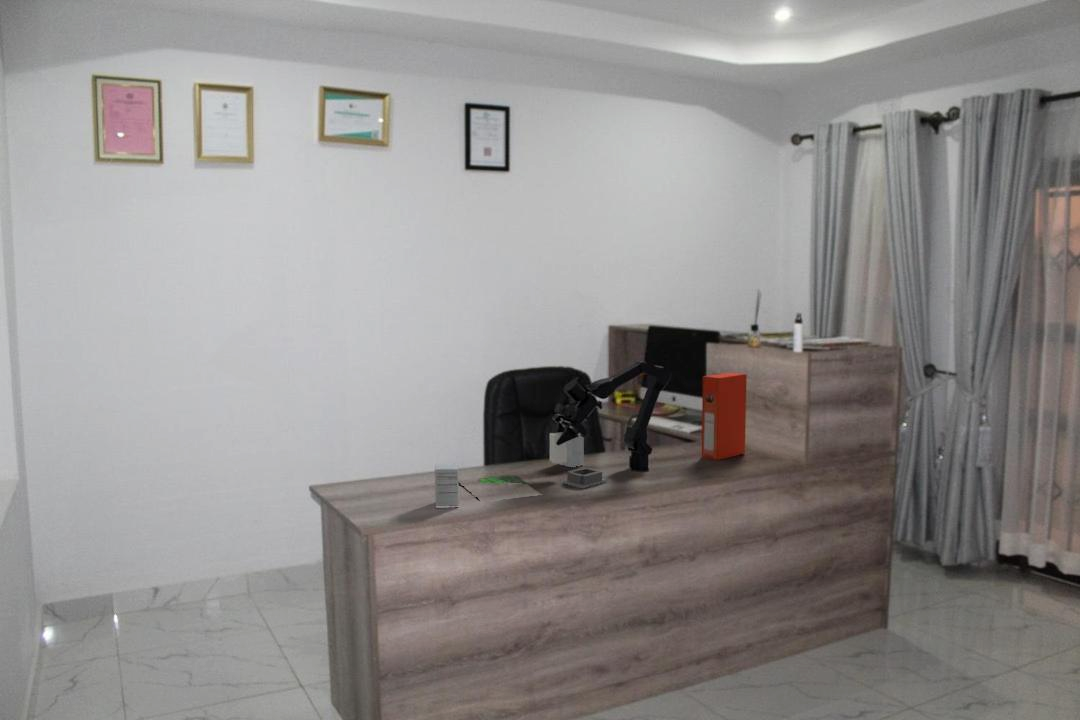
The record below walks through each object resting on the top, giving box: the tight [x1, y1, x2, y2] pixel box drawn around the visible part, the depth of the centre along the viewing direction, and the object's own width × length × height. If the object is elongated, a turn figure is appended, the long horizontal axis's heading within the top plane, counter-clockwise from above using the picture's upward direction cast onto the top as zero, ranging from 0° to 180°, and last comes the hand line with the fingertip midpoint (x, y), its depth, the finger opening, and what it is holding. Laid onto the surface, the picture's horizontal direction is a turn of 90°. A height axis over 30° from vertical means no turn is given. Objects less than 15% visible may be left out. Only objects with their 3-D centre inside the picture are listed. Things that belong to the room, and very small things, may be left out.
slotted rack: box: [562, 467, 607, 489], centre depth 298 cm, size 12×9×4 cm
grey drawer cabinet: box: [434, 463, 460, 507], centre depth 271 cm, size 7×7×13 cm
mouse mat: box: [478, 475, 531, 486], centre depth 291 cm, size 27×22×1 cm
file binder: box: [701, 372, 747, 461], centre depth 338 cm, size 8×17×32 cm, turn 130°
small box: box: [557, 433, 585, 469], centre depth 324 cm, size 8×6×13 cm
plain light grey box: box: [549, 432, 567, 464], centre depth 303 cm, size 5×4×10 cm
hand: (554, 443), depth 303 cm, fingers closed on plain light grey box, 3 cm apart
